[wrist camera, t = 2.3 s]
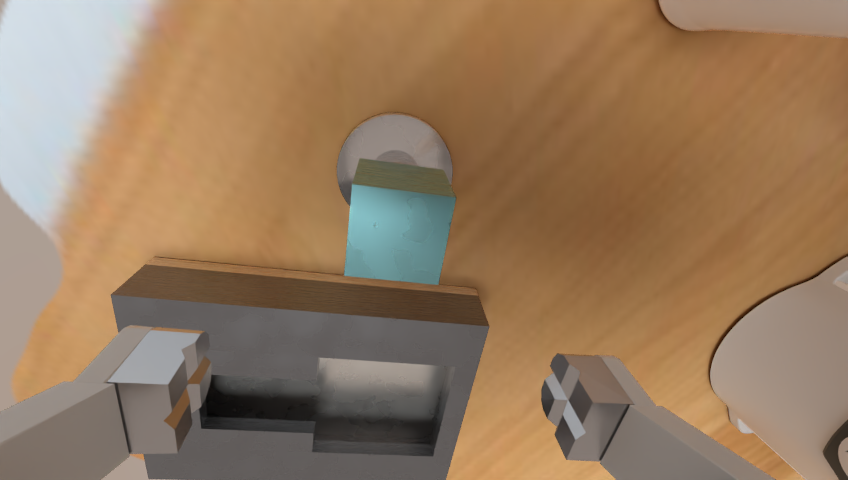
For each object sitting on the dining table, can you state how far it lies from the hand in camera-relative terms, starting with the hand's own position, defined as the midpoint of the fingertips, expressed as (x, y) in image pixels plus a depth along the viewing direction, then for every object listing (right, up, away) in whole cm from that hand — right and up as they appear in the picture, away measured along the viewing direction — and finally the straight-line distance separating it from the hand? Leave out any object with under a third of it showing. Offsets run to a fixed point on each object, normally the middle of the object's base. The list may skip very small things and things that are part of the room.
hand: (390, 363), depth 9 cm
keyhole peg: (-1, +7, +15) cm, 17 cm away
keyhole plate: (-8, -7, +22) cm, 24 cm away
